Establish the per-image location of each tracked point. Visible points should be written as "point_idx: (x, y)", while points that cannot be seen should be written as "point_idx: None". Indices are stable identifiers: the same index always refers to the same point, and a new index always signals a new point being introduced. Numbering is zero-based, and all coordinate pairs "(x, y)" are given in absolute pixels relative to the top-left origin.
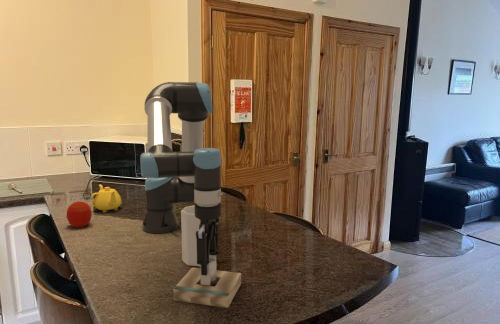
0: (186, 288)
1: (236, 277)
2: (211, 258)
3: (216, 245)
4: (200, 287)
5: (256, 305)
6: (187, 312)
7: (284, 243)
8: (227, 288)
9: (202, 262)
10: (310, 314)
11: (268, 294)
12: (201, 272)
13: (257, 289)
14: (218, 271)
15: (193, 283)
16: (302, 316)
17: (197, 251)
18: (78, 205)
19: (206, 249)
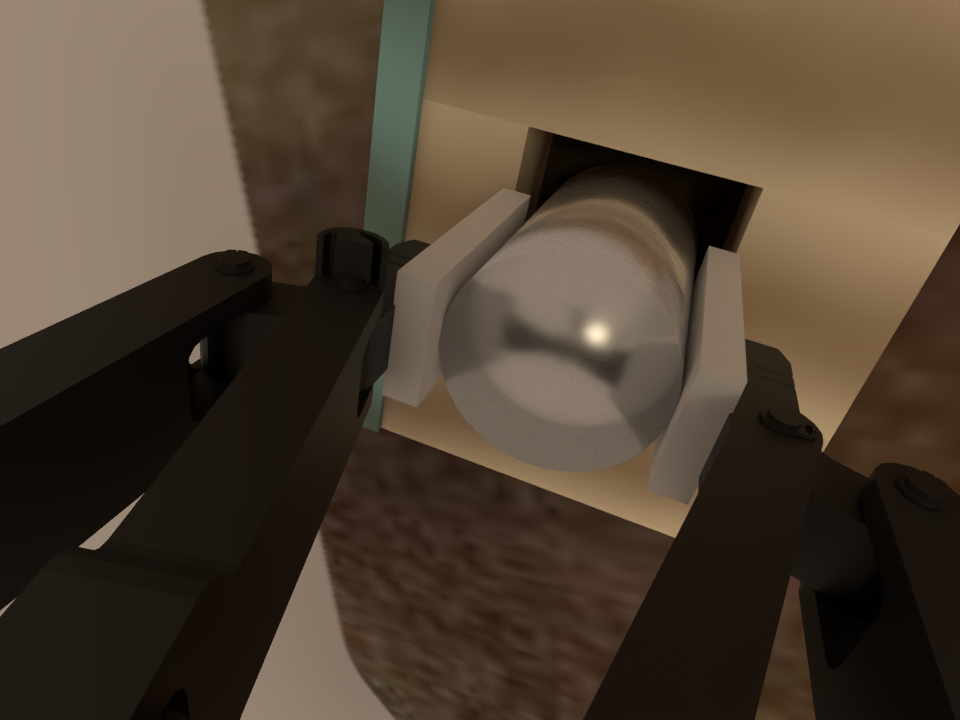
0: (401, 35)
1: (661, 517)
2: (665, 416)
3: (813, 634)
4: (458, 189)
5: (442, 527)
6: (298, 77)
7: None
8: (460, 424)
9: (201, 343)
10: (391, 706)
11: (573, 616)
12: (389, 252)
13: (644, 577)
14: (838, 371)
15: (542, 95)
16: (371, 675)
17: (23, 353)
18: None
19: (95, 526)
